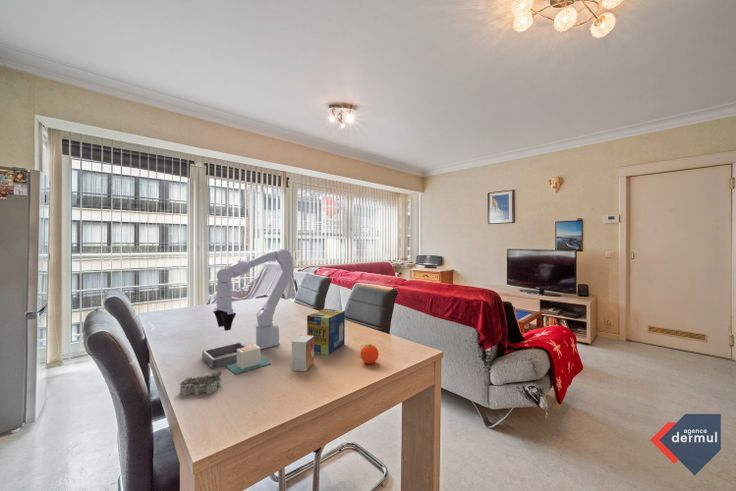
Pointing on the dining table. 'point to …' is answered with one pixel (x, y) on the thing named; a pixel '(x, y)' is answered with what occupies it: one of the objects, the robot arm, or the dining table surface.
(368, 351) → the clementine
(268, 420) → the dining table surface
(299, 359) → the small box
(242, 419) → the dining table surface
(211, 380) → the egg carton
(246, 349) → the box
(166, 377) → the dining table surface
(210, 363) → the bin
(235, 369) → the mat
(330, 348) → the protein box
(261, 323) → the robot arm
